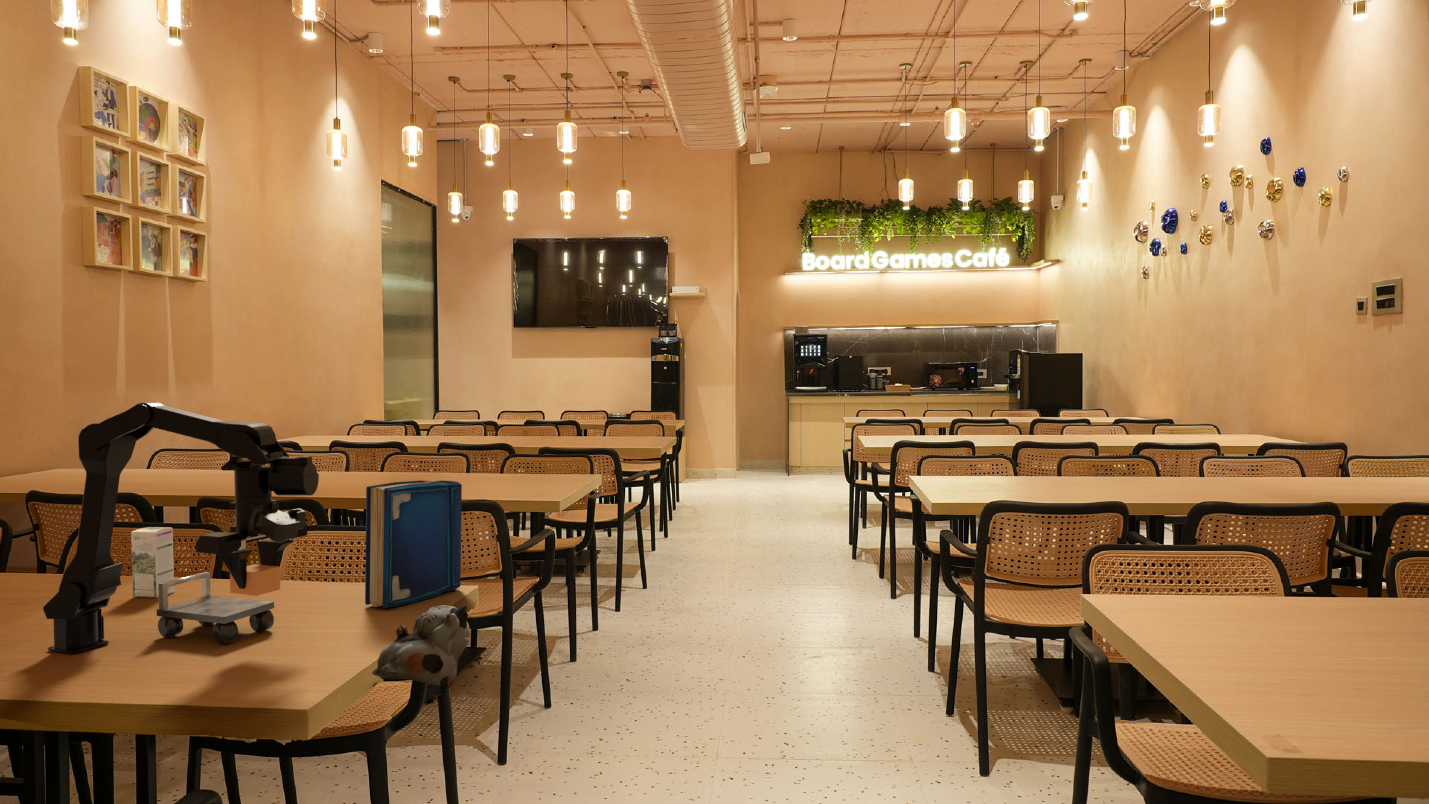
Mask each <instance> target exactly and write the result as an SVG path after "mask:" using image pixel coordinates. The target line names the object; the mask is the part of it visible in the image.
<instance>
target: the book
mask: <svg viewBox="0 0 1429 804" xmlns="http://www.w3.org/2000/svg"><path fill="white" fill-rule="evenodd" d="M462 487H463V485H462V483H460V482H459V481H455V480H435V481H431V480H430V481H429V480H407V481H393V482H388V483H382V484H381V483H380V484H375V485H368V486H366V488H365V490H366V491H365V493H366V494H365V497H366V498H365V564H364V565H365V570H364V571H365V576H364V577H365V578H364V579H365V581H364V583H365V585H364V586H365V587H364V588H365V589H364V590H365V591H364V594H365V595H364V603H365V606H368V605H371V606H372V607H374V608H376V607H382V609H389V608H395V607H398V606H404V605H410V604H414V603H418V602H422V601H424V600H429V599H433V598H437V597H439V596H440V595H441V594H443V593H444V592H445V593H446V592H451V591H455V590H457V589H458V588H459V589H460V587H461V573H462V572H461V567H462V566H461V563H462V562H461V561H462V556H461V554H462V550H461V549H462V502H463V501H462V494H463V493H462V490H463V488H462Z"/></svg>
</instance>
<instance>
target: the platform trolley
mask: <svg viewBox="0 0 1429 804" xmlns="http://www.w3.org/2000/svg"><path fill="white" fill-rule="evenodd" d="M200 579H201V597H196V598H192V599H190V600H189V599H188V600H186V601H182V602H177V603H175V604H172V605H169V594H168V587H170V586H174V587H175V586H176V585H181V584H186V583H188V582H189V583H190V582H192V581H193V582H194V581H197V580H200ZM211 592H212V591H211V572H210V571H204V572H201V573H200V572H199V573H196V574H193V575H188V576H184V577H180V578H176V579H175V578H174V580H171V581H167V582H163V583H159V597H158V608H157V609H156V617H160V618H159V619H158V621H157V628H158V632H159V634H160V635H161V636H162V637H164V638H168V639H169V638H171V637H174V636H175V637H176V636H177V635H180V634H181V633H182V632H183V629H184V621H183V620H186V621H187V620H189V621H195V622H196V621H197V622H198V624H200V625H201V626H203V627H204V626H205V627H207V626H210V625H213V624H214V625H213V627H212V631H211V632H212V637H213V639H214V641H215V642H216V643H217V644H218V645H221V646H222V645H223V646H224V645H226V644H228V643H232V642H235V641H236V640H237V639H238V636H239V628H238V625H237V623H236V622H235V621H238V620H241V619H244V618H247V617H249V620H248V621H249V625H250V627H251V629H252V630H253V631H254V632H256V633H261V632H264V631H268V630H270V629H271V628H272V627H273V626H274V623H275V619H274V618H275V617H274V613H272V611H271V610H272V609H275V601H270V600H268V601H267V600H261V599H260V600H259V599H250V598H241V597H233V596H231V597H230V596H220V595H211Z"/></svg>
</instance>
